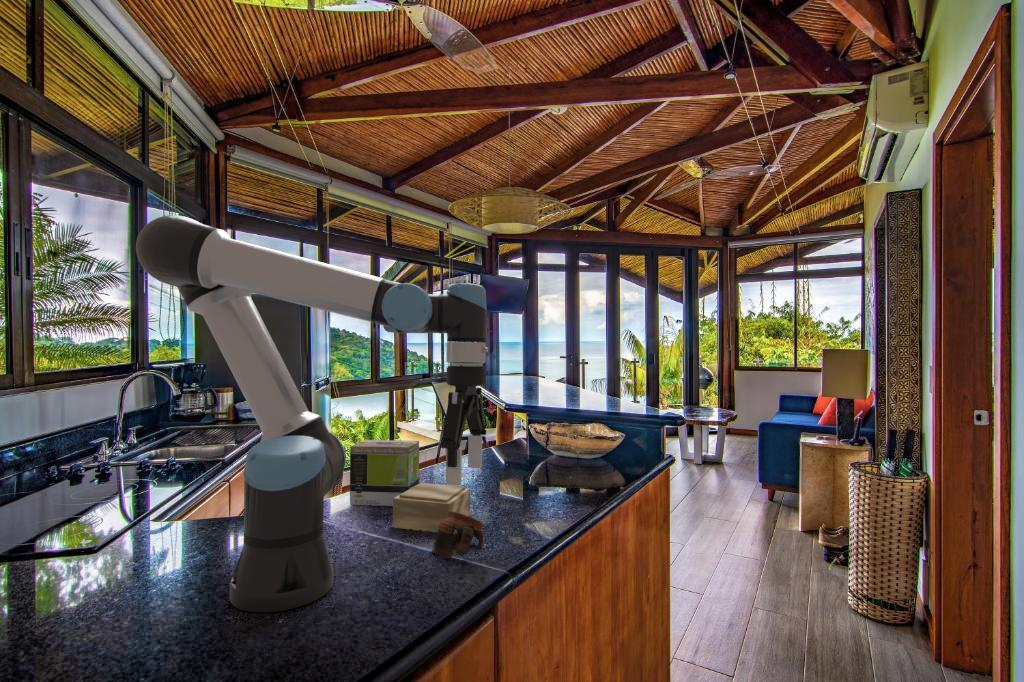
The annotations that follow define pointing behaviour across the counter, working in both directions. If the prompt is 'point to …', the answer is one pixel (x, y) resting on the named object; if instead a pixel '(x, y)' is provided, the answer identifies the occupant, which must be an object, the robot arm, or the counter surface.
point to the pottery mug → (457, 535)
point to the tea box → (382, 471)
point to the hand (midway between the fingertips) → (464, 475)
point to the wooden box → (429, 506)
